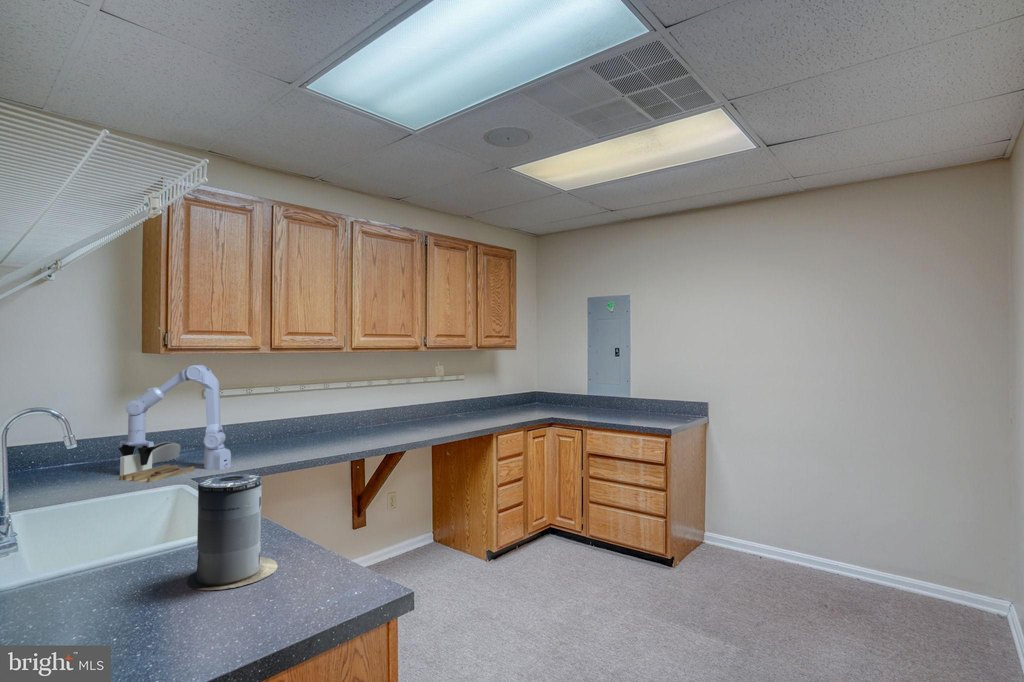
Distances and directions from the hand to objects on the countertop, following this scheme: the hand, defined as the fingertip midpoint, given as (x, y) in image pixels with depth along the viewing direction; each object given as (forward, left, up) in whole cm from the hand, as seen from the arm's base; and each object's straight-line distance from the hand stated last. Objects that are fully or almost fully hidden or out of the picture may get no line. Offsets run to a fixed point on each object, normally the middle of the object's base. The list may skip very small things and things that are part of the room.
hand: (136, 464), depth 208 cm
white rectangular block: (0, 0, -4) cm, 4 cm away
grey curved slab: (+10, -21, -4) cm, 23 cm away
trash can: (-108, +70, -4) cm, 129 cm away
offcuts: (-17, +2, -3) cm, 17 cm away
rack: (-13, +2, -4) cm, 14 cm away
